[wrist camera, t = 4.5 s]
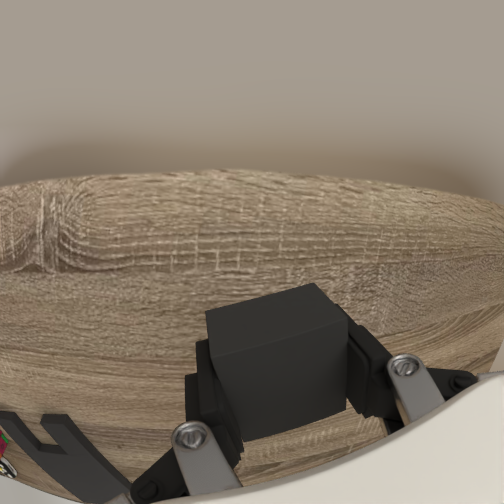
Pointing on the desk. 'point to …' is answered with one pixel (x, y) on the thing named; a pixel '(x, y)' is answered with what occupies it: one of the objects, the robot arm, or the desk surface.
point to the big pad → (68, 458)
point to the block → (2, 444)
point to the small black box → (280, 359)
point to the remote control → (7, 468)
